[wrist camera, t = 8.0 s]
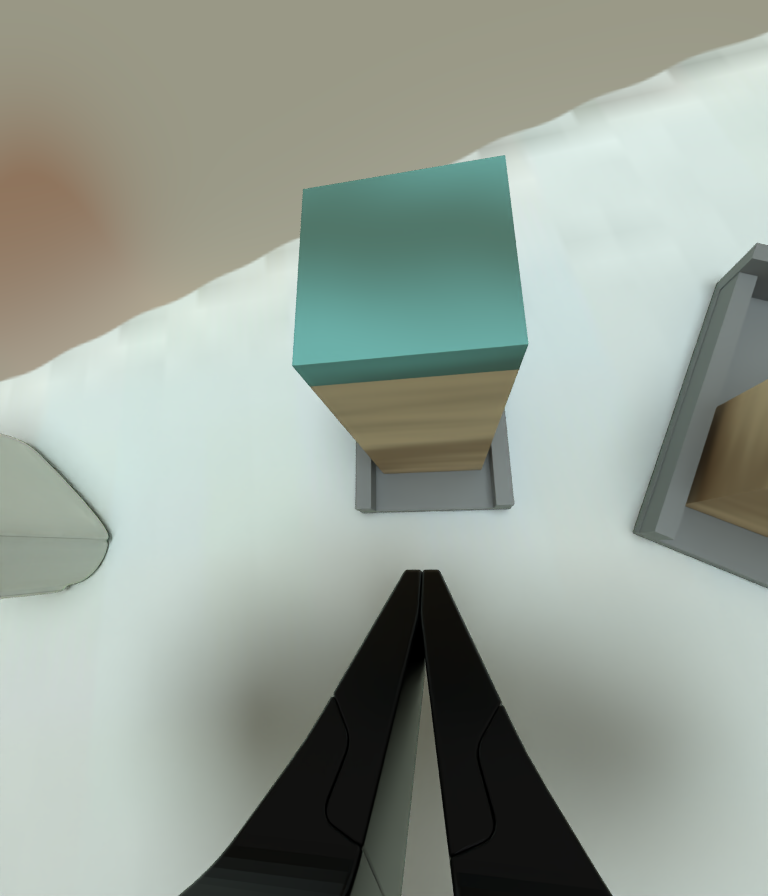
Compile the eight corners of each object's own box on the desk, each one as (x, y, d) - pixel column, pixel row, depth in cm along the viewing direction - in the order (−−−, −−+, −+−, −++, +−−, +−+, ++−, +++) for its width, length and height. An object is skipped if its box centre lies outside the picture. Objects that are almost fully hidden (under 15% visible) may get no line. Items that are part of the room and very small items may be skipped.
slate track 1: (509, 508, 17) (518, 502, 15) (362, 512, 18) (349, 506, 16) (486, 268, 21) (490, 231, 18) (364, 283, 22) (353, 250, 19)
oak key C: (481, 469, 17) (528, 343, 7) (384, 474, 18) (292, 365, 8) (474, 379, 19) (504, 155, 8) (383, 386, 19) (303, 189, 9)
